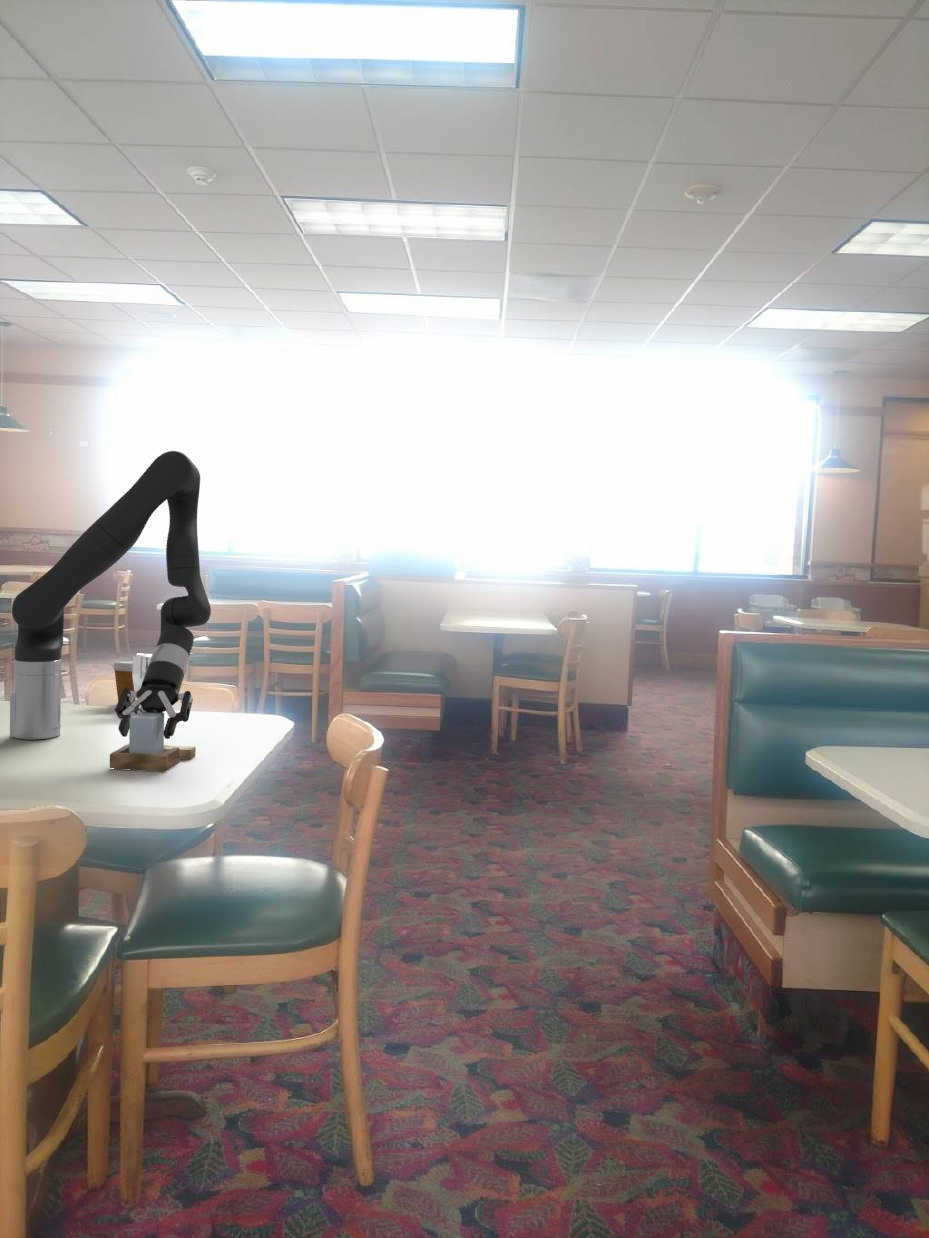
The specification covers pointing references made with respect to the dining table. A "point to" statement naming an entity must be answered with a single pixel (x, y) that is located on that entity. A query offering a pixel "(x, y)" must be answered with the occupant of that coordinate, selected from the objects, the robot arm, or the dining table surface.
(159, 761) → the tray
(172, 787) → the dining table surface
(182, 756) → the dock step
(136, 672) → the beer glass
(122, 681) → the disposable coffee cup
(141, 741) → the pale grey upright block
